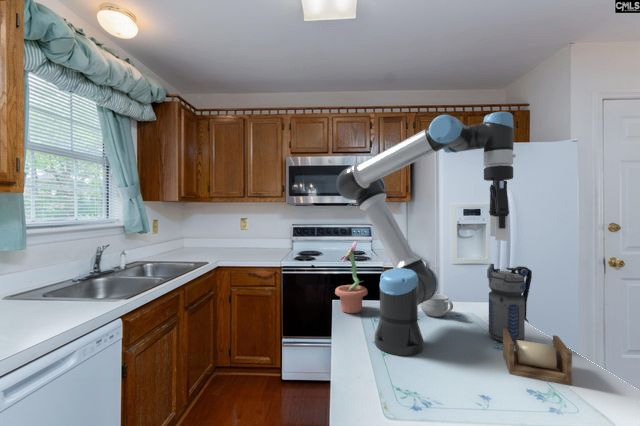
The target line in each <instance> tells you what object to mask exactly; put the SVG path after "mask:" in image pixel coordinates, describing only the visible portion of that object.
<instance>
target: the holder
mask: <svg viewBox="0 0 640 426" xmlns="http://www.w3.org/2000/svg"><path fill="white" fill-rule="evenodd" d="M552 345H553V347H554V349H555V352H556V359H557V365H556V369H555V370H552V369H547V368H541V367H535V366H530V365H524V364H518V363H517V360H516V353H515V344H514V343H513V341H512V339H511V336H510V334H509V332H508V330H507V329H505V328H503V342H502V356H503V360H504V362H505V366H506V367H507V368H506V369H507V371H508V373H509V374H510V375H514V376H518V377H519V376H520V377H524V378H530V379H533V380H534V379H535V380H540V381H547V382H552V383H557V384H562V385H567V386H571V387H572V385H573V384H572V383H573V380H572V378H573V377H572V376H573V373H572V371H573V365H572V364H573V352H571V350H570V349H569V348H568V346H566V343H564V342H563V341H562V339H561V338H560V337H559V336H558V335H554V334H553V335H552Z"/></svg>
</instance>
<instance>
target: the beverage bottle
mask: <svg viewBox="0 0 640 426" xmlns="http://www.w3.org/2000/svg"><path fill="white" fill-rule="evenodd" d="M505 269H506V270H501V268H495V263H489V266H488V268H487V270H486V271H487V272H486V277H487V279H488V280H487V281H488V288H489V289H490V290H491V291H490V292H488V334H489V335H490V337H491V338H492V339H493V340H496V341H497V342H501V343H503V328H505V329H507V330H508V332H509V334H510V336H511V339H512V341H513V343H514V345H515V343H516V340H521V341H525V338H526V337H525V325H526V323H525V321H526V322H527V323H529V320H528V318H527V308H528V307H527V304H528V303H527V302H528V297H529V292H530V288H531V283H532V273H533V272H532V270H531V269H530V268H528V267H527V266H520V265H519V266H516V267H505ZM507 270H508V271H507Z"/></svg>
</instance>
